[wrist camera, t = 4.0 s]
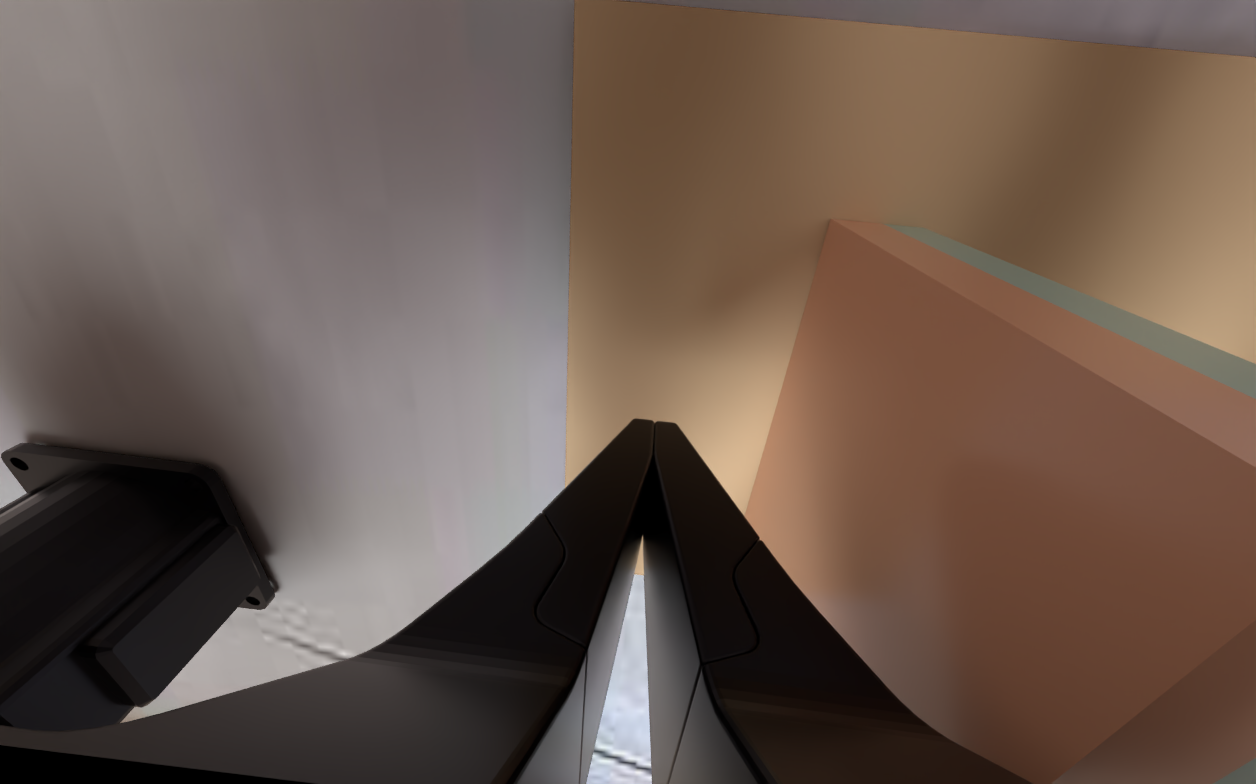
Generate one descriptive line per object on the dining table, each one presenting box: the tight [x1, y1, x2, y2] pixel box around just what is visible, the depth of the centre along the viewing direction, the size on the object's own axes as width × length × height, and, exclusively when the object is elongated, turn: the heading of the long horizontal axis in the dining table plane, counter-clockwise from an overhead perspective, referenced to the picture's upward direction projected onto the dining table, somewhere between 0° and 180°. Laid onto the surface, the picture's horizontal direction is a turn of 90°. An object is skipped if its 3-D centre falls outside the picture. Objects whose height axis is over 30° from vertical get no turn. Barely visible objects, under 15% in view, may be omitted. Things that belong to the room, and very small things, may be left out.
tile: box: [745, 219, 1256, 784], centre depth 8 cm, size 2×8×8 cm, turn 175°
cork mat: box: [565, 0, 1256, 575], centre depth 11 cm, size 16×14×1 cm
